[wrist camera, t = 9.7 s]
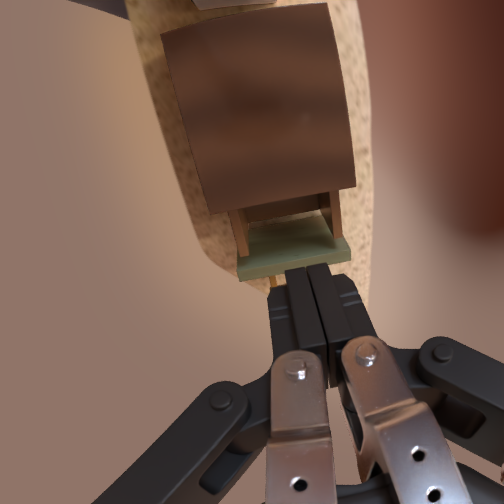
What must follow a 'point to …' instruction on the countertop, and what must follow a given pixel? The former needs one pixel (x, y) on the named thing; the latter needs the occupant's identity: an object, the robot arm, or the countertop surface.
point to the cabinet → (263, 105)
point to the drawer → (289, 236)
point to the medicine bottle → (226, 3)
